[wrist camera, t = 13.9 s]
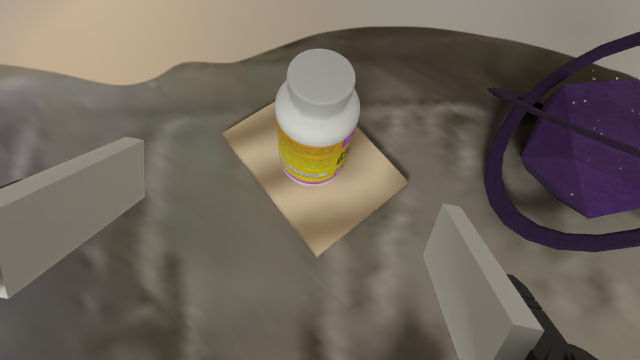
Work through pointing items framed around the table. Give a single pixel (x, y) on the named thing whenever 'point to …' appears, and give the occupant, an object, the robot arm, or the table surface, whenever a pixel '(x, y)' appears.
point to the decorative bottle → (575, 152)
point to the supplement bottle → (316, 116)
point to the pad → (317, 201)
